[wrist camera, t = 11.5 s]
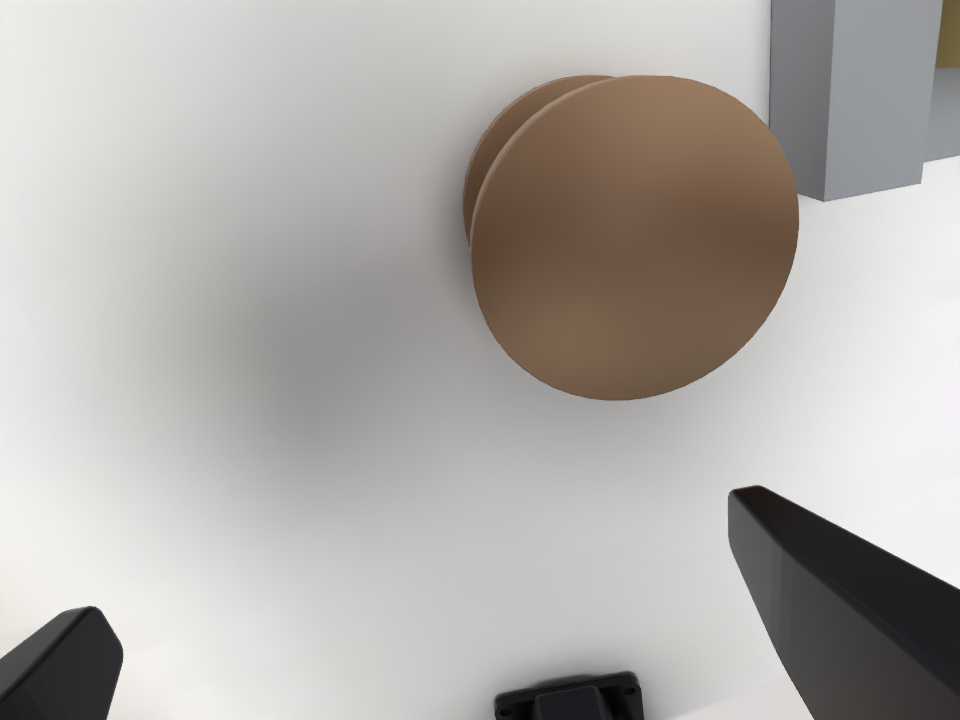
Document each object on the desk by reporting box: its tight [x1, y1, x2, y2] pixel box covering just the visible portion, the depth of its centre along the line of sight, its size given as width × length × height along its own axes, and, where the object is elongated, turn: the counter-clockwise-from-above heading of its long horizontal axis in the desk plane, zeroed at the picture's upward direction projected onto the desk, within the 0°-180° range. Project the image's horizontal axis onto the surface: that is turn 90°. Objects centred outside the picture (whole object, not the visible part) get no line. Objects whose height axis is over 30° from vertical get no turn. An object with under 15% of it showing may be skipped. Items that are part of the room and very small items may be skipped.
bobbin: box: [463, 76, 799, 400], centre depth 16 cm, size 7×7×6 cm
